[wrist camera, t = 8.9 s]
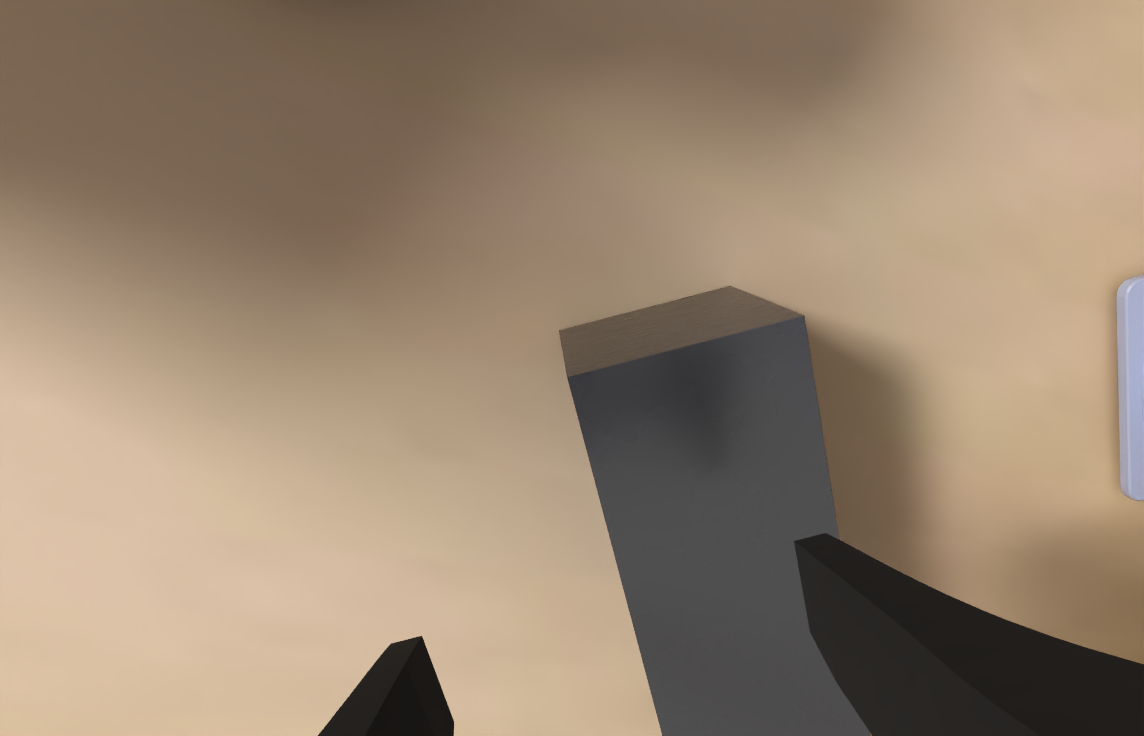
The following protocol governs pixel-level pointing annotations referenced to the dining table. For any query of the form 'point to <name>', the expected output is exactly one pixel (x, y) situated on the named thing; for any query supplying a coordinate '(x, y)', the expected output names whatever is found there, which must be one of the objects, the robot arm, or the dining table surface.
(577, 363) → the dark grey rectangular bar
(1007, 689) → the robot arm
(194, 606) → the dining table surface
